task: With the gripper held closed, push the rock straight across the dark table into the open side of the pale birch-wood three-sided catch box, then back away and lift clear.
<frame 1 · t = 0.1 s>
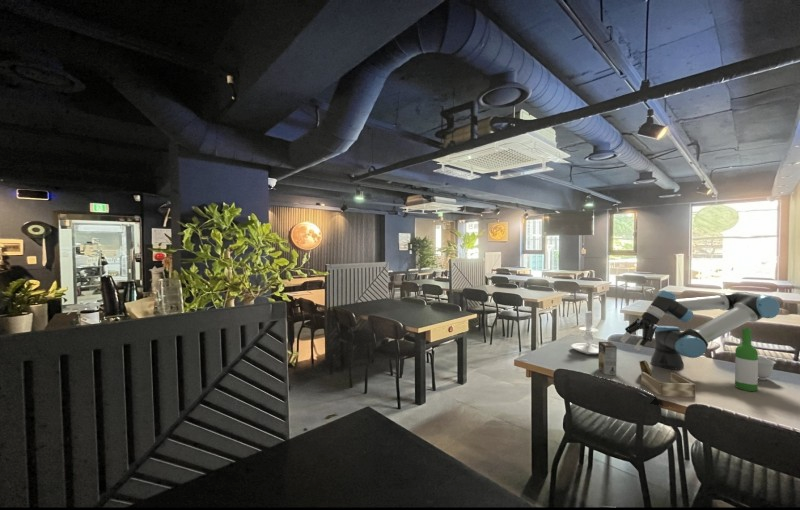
hand: (628, 345, 184), 15 cm above the table, tool tilted 35°, fingers open, 13 cm apart
teacup: (758, 377, 175), on the table
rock: (647, 378, 178), on the table
wine bottle: (745, 388, 163), on the table
candlestick: (588, 353, 218), on the table
coffee box: (607, 372, 186), on the table
catch box: (666, 389, 163), on the table
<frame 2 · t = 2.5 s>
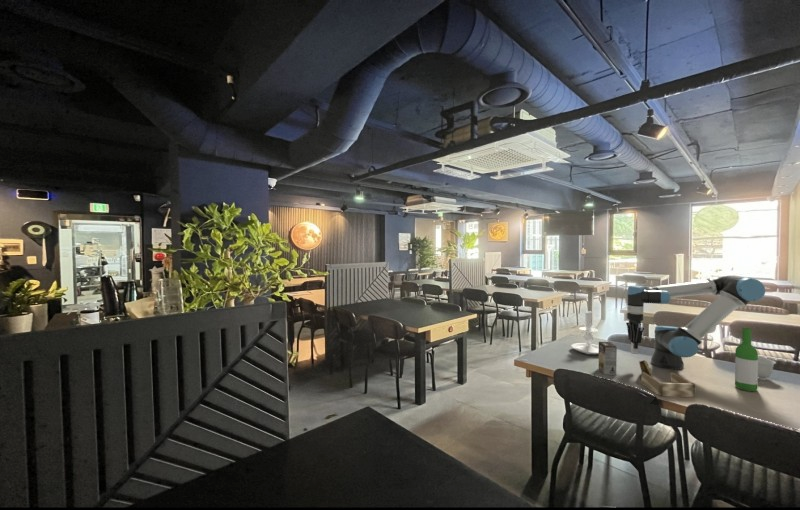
hand: (634, 353, 188), 9 cm above the table, tool pointing down, fingers closed
nothing on the table moved.
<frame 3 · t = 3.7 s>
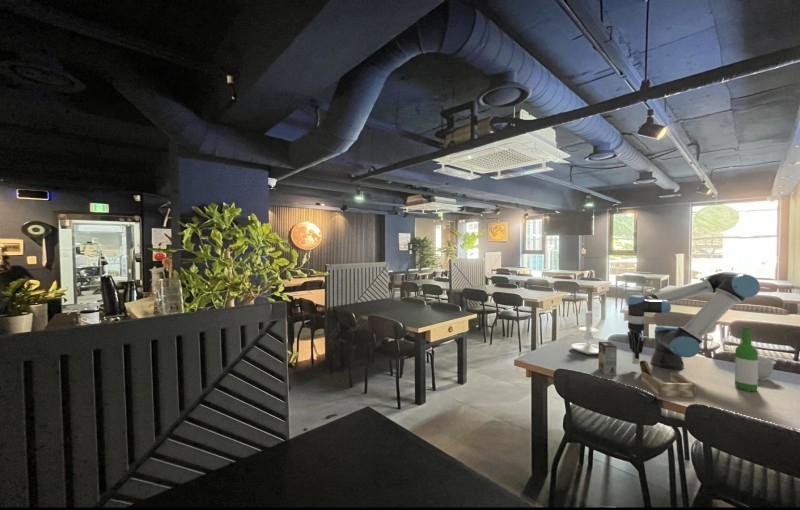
hand: (635, 363, 188), 4 cm above the table, tool pointing down, fingers closed
nothing on the table moved.
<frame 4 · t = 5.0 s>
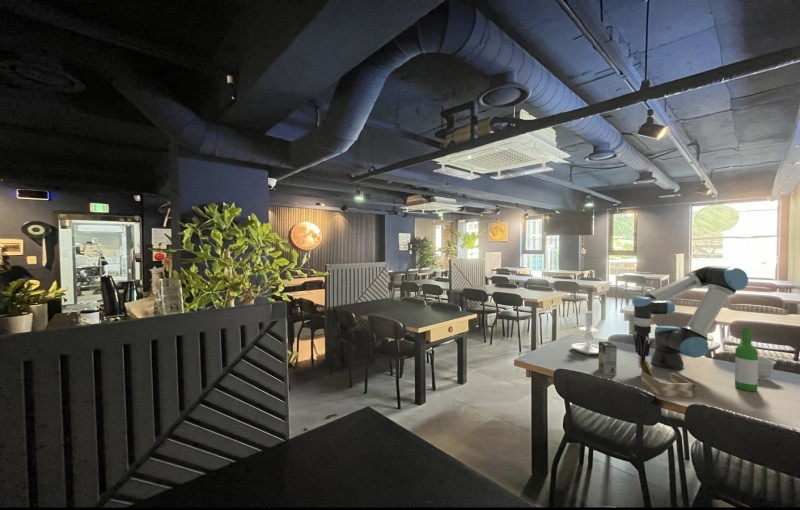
hand: (641, 367, 182), 4 cm above the table, tool pointing down, fingers closed
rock: (648, 378, 177), on the table, touching gripper
everything else where it was.
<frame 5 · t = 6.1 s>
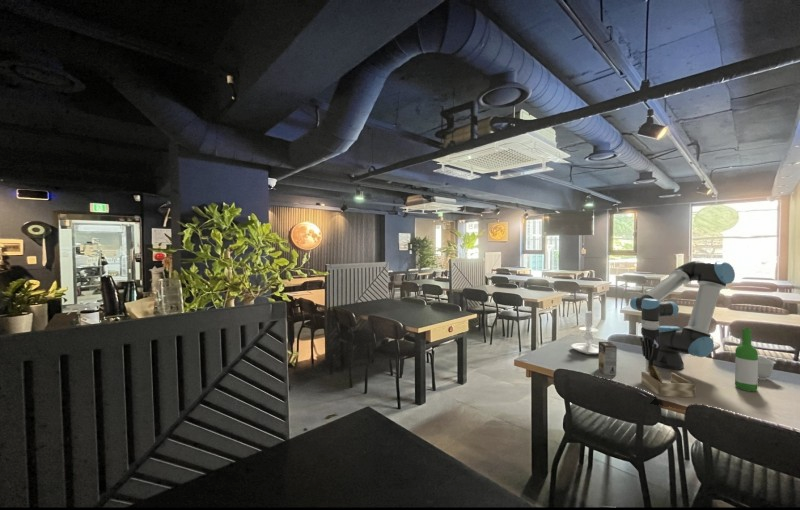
hand: (649, 371, 175), 4 cm above the table, tool pointing down, fingers closed
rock: (656, 383, 170), on the table, touching gripper
everything else where it was.
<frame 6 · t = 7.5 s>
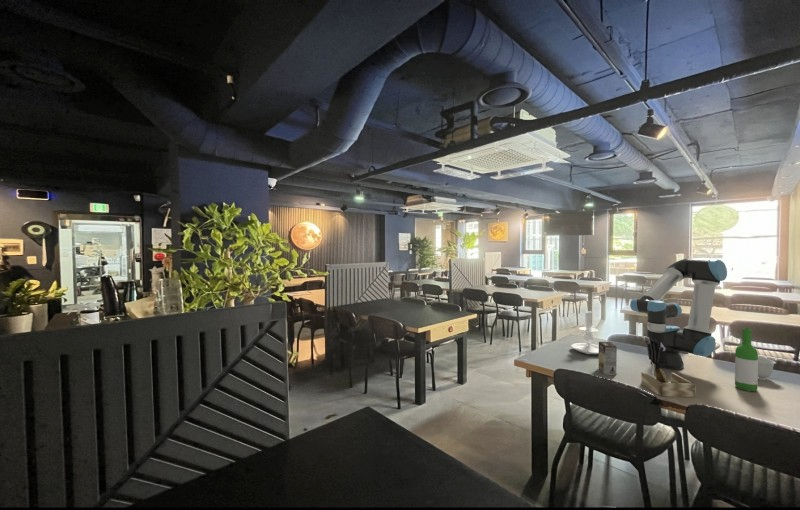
hand: (655, 375, 171), 4 cm above the table, tool pointing down, fingers closed
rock: (663, 387, 166), on the table, touching gripper
everything else where it was.
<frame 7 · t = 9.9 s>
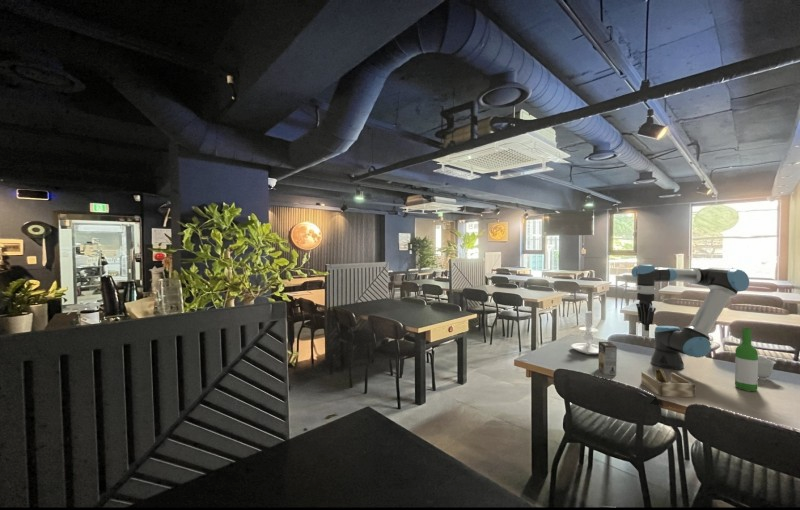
hand: (645, 335, 179), 22 cm above the table, tool pointing down, fingers closed
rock: (663, 387, 165), on the table
everything else where it was.
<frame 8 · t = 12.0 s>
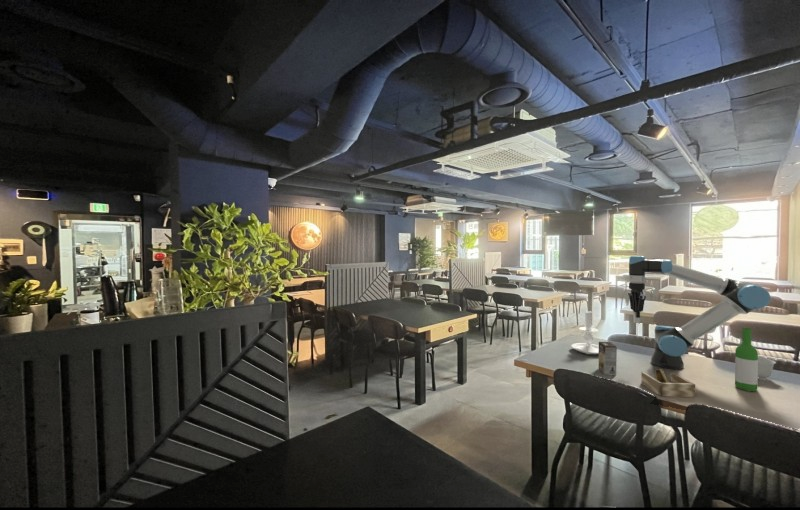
hand: (636, 322, 191), 26 cm above the table, tool pointing down, fingers closed
nothing on the table moved.
at the end: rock inside the target area on the catch box (2.3 cm from its centre), point 0.0 cm above the catch box's base; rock tilted 0°; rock moved 12.2 cm from its start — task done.
